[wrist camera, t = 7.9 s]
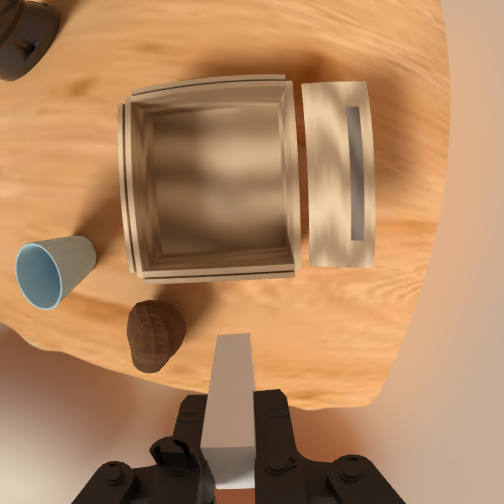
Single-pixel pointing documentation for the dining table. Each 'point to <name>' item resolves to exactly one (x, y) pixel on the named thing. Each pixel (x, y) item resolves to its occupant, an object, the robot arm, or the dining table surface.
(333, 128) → the flap
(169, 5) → the dining table surface
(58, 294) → the cup
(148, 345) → the potato
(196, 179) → the carton
